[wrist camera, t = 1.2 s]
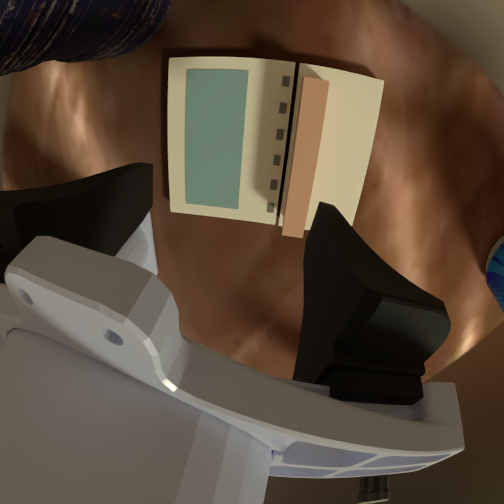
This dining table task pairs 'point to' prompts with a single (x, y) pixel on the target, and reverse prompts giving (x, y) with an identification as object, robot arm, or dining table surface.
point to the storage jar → (74, 30)
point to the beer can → (496, 272)
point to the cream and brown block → (328, 144)
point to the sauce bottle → (373, 489)
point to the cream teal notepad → (227, 135)
